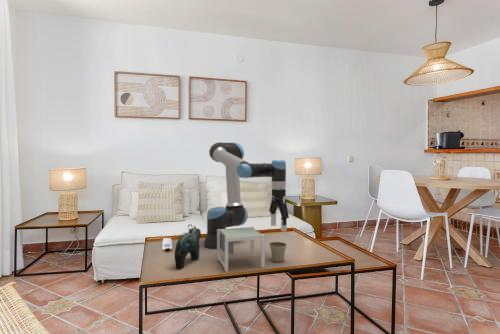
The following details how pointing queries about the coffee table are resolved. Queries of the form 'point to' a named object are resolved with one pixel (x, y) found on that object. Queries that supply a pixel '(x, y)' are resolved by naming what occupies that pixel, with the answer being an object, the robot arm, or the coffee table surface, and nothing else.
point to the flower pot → (278, 251)
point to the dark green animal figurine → (187, 246)
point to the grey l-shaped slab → (232, 234)
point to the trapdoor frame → (240, 238)
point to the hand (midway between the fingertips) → (278, 228)
